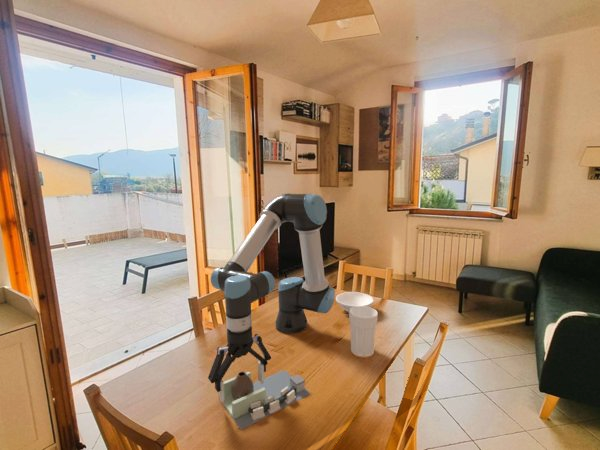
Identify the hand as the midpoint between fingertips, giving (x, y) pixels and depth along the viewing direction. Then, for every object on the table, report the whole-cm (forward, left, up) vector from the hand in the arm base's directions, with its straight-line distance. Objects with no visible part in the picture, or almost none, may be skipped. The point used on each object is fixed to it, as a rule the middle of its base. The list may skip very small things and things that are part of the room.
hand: (242, 390), depth 100 cm
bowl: (-28, +78, -5) cm, 83 cm away
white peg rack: (+7, +9, -4) cm, 12 cm away
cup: (+2, +52, -5) cm, 52 cm away
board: (+2, +7, -5) cm, 9 cm away
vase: (0, 0, -3) cm, 3 cm away
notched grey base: (+7, +8, -3) cm, 11 cm away
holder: (0, 0, -4) cm, 4 cm away
